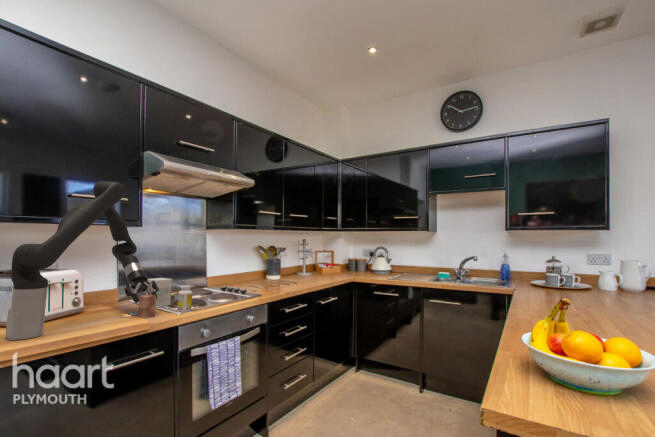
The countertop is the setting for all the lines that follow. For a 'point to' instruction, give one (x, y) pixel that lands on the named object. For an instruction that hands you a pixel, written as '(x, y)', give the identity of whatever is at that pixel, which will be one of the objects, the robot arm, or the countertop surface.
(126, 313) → the slate card
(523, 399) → the countertop surface
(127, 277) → the robot arm
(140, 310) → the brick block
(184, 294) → the supplement bottle
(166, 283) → the supplement box
